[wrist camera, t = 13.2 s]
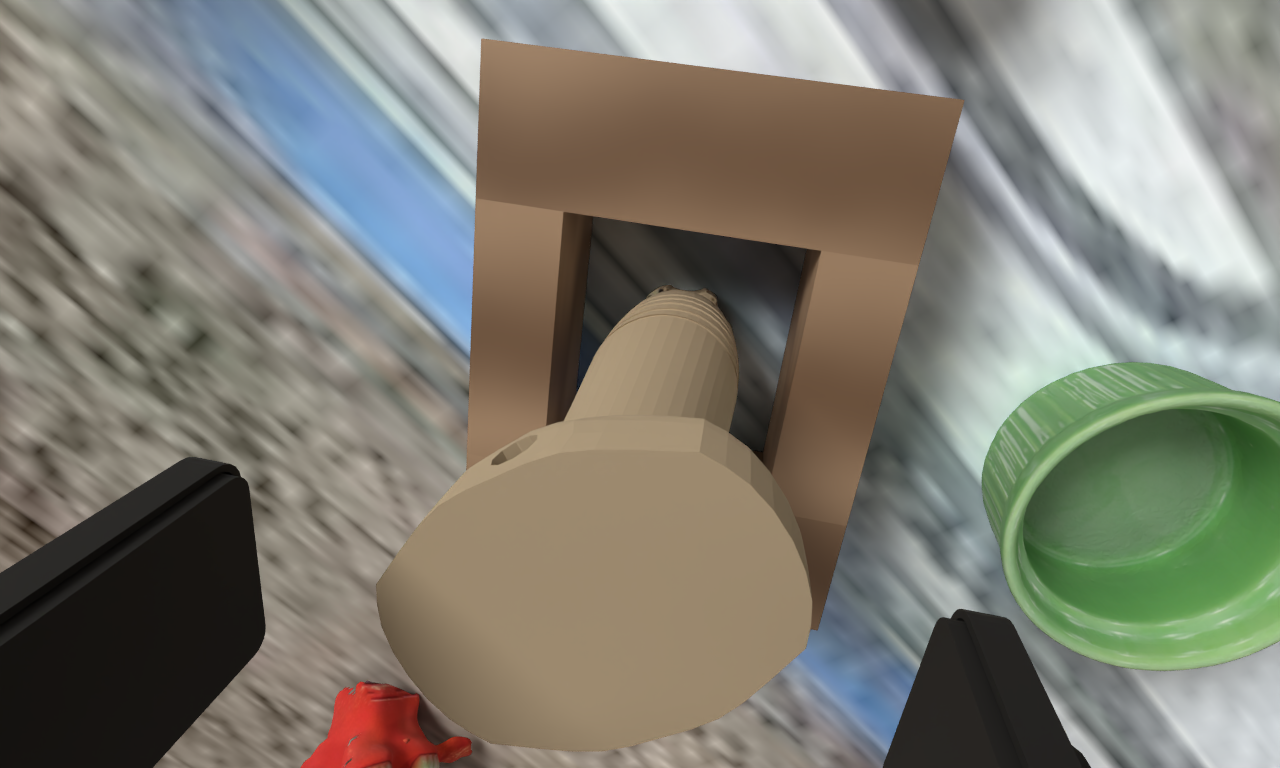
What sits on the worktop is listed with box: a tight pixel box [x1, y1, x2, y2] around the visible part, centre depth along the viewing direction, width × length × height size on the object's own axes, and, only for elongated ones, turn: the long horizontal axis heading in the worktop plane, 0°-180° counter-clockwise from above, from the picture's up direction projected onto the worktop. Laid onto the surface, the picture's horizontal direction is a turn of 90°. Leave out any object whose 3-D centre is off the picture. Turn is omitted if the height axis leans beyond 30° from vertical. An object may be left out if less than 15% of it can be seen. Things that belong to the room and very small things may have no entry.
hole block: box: [466, 39, 964, 630], centre depth 22 cm, size 16×12×4 cm
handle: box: [376, 285, 812, 751], centre depth 17 cm, size 5×6×15 cm
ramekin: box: [982, 362, 1280, 671], centre depth 21 cm, size 9×9×4 cm
